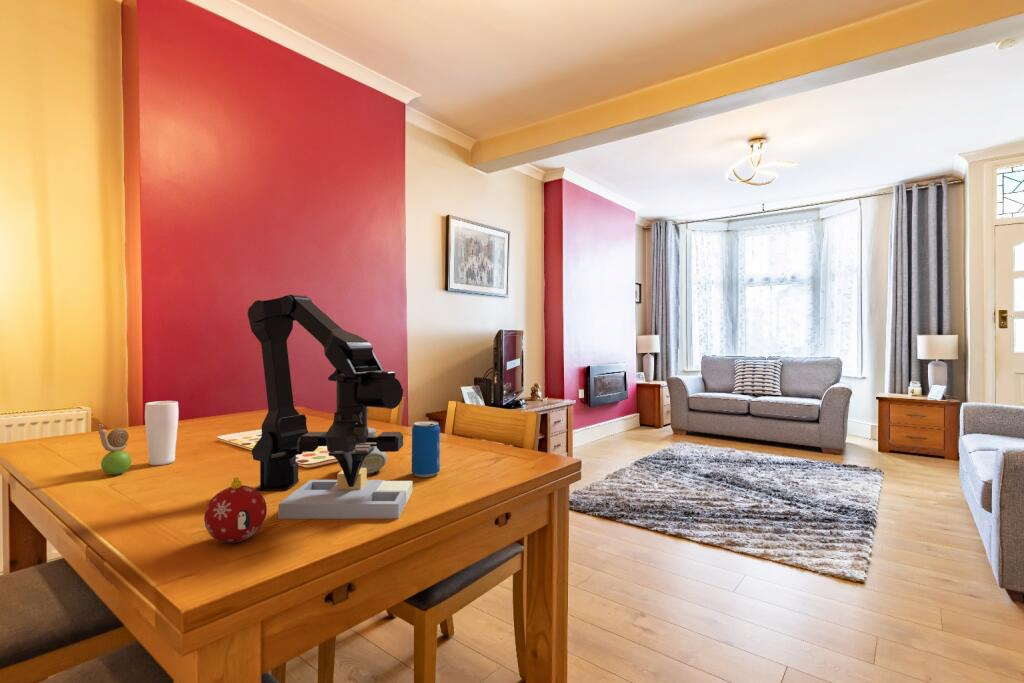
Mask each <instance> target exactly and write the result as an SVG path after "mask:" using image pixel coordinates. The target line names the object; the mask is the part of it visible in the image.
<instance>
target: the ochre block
mask: <svg viewBox="0 0 1024 683" xmlns="http://www.w3.org/2000/svg"><path fill="white" fill-rule="evenodd" d="M336 476H337V477H336V480H337V489H361V488H362V487H363V486H364V485H365V484H366V483H367V480H368V478H367V477H368V475H367V468H361V469H360V471H359V474H358V477H357V480H356V482H355V485H354V486H353V487H349V486H348V483H347V480H346V478H345V475H344V472H343V470H342V469H341V470H340V471H339V472H338V473H337V475H336Z"/></svg>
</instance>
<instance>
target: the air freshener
mask: <svg viewBox="0 0 1024 683" xmlns="http://www.w3.org/2000/svg"><path fill="white" fill-rule="evenodd" d="M367 428H368V436H377V430H376V428H373V427H367ZM373 447H374V450H373V451H372V452H371V453H370V454H369V455H367V456H366V457H365V459H364V461H363V464H362V466H361V468H367V476H369V475H372V474H374V473H376V472H378V471H380V470H381V469H382V468H383V467H384V466H385V465H386V463H387V461H388V455H387V452H380V451H379V450H378V449H377V446H373ZM355 450H356V448H355V449H354V450H353V451H352V452H354V451H355ZM338 465H339V467H340V468H341V469H342V467H341V465H340V463H339V462H338Z"/></svg>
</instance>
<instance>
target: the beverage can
mask: <svg viewBox="0 0 1024 683" xmlns="http://www.w3.org/2000/svg"><path fill="white" fill-rule="evenodd" d="M440 469H441V427H440V425H439V422H438V421H434V420H420V421H416V422H414V423H413V426H412V428H411V473H412V474H414V476H415V477H417V478H432V477H435V476H436V475H437V474H438V473H439V472H440V471H441V470H440Z"/></svg>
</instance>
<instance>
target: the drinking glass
mask: <svg viewBox="0 0 1024 683" xmlns="http://www.w3.org/2000/svg"><path fill="white" fill-rule="evenodd" d="M179 413H180V412H179V402H178V401H176V400H159V401H150V402H146V403H145V406H144V424H145V434H146V443H147V453H148V464H149V465H151V466H163V465H164V466H165V465H169V464H172V463H174V462H175V460H176V448H177V447H176V446H177V437H178V429H179V428H178V427H179V415H180V414H179Z"/></svg>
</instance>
